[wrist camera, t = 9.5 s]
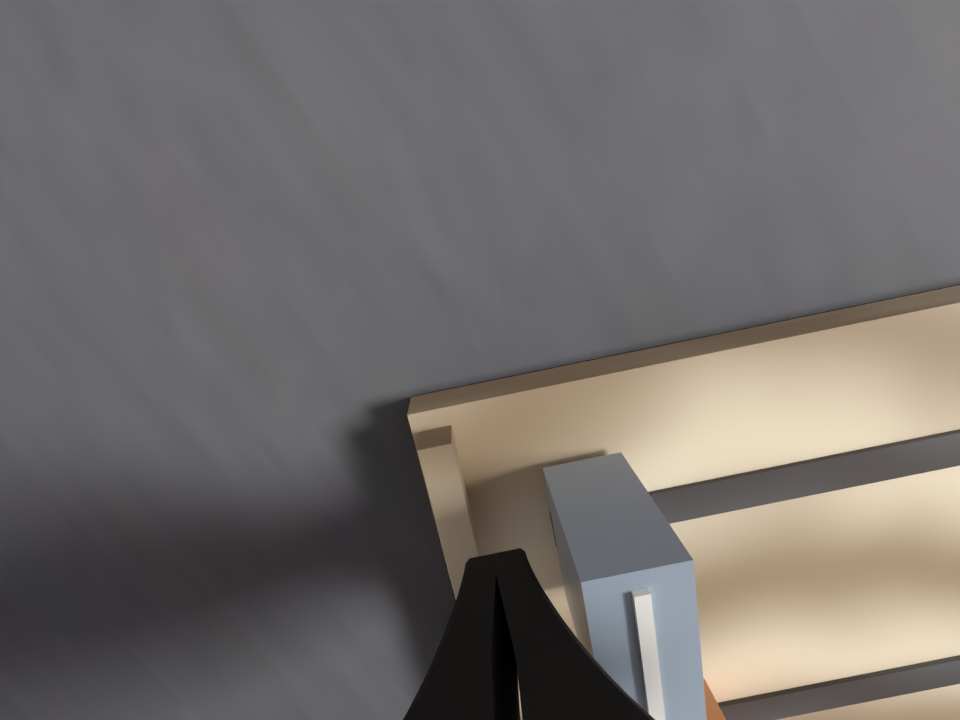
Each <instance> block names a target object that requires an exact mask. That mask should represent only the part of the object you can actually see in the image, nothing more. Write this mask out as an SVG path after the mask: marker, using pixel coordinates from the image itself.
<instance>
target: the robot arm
mask: <svg viewBox="0 0 960 720" xmlns="http://www.w3.org/2000/svg"><path fill="white" fill-rule="evenodd" d="M518 683H519V689H518ZM519 692H520V701H521V710H522V719H523V720H655V719H654V718H653V717H652V716H651V715H650V714H648V713H647V712H646V711H645V710H644V709H643V708H642V707H641V706H640V705H639V704H638V703H637V702H635V701H634V700H633V699H632V698H631V697H630V696H629V695H628V694H627V693H626V692H625V691H624V690H623V689H622V688H621V687H620V686H619V685H618V684H617V683H616V682H615V681H614V680H613V679H612V678H611V677H610V676H609V675H608V673H607V672H606V671H605V670H604V669H603V668H602V667H601V666H600V665H599V663H598V662H597V661H596V660H595V659H594V658H593V657H592V655H591V654H590V653H589V652H588V651H587V650H586V648H585V647H584V646H583V645H582V643H581V642H580V641H579V640H578V638H577V637H576V636H575V635H574V633H573V632H572V631H571V629H570V628H569V627H568V625H567V624H566V623H565V621H564V620H563V619H562V617H561V616H560V614H559V613H558V611H557V610H556V608H555V607H554V605H553V604H552V602H551V601H550V599H549V598H548V596H547V595H546V593H545V592H544V590H543V588H542V587H541V585H540V583H539V581H538V579H537V578H536V576H535V574H534V572H533V570H532V568H531V566H530V563H529V561H528V558H527V555H526V552H525V551H524V550H522V549H521V548H518V549H513V550H508V551H503V552H498V553H493V554H488V555H484V556H479V557H474V558H469V559H468V561H467V562H466V563H465V569H464V574H463V578H462V582H461V585H460V589H459V592H458V596H457V599H456V602H455V605H454V608H453V611H452V614H451V616H450V619H449V622H448V625H447V628H446V630H445V633H444V636H443V638H442V640H441V643H440V645H439V647H438V650H437V652H436V654H435V657H434V659H433V661H432V664H431V666H430V668H429V670H428V673H427V675H426V677H425V679H424V681H423V683H422V685H421V687H420V689H419V691H418V693H417V695H416V697H415V699H414V701H413V702H412V704H411V706H410V708H409V710H408V712H407V714H406V715H405V717H404V719H403V720H520V705H519Z"/></svg>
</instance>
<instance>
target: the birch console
mask: <svg viewBox="0 0 960 720" xmlns="http://www.w3.org/2000/svg"><path fill="white" fill-rule="evenodd" d="M407 416H408V420H409V424H410V428H411V431H412V435H413V439H414V443H415V447H416V450H417V454H418V458H419V462H420V466H421V469H422V473H423V477H424V481H425V485H426V488H427V492H428V496H429V500H430V504H431V507H432V511H433V515H434V519H435V523H436V526H437V530H438V534H439V538H440V542H441V545H442V549H443V553H444V557H445V561H446V564H447V568H448V572H449V576H450V580H451V583H452V587H453V591H454V595H455V599H457V596H458V592H459V589H460V585H461V582H462V578H463V574H464V569H465V563H466V562H467V561H468V559H469V558H474V557H479V556H484V555H488V554H493V553H498V552H503V551H508V550H513V549H518V548H521V549H522V550H524V551H525V552H526V555H527V558H528V561H529V563H530V566H531V568H532V570H533V572H534V574H535V576H536V578H537V579H538V581H539V583H540V585H541V587H542V588H543V590H544V592H545V593H546V595H547V596H548V598H549V599H550V601H551V602H552V604H553V605H554V607H555V608H556V610H557V611H558V613H559V614H560V616H561V617H562V619H563V620H564V621H565V623H566V624H567V625H568V627H569V628H570V629H571V631H572V632H573V633H574V635H575V636H576V637H577V634H576V630H575V627H574V623H573V620H572V616H571V613H570V609H569V606H568V602H567V599H566V595H565V590H564V584H563V579H562V573H561V568H560V562H559V556H558V551H557V545H556V540H555V534H554V529H553V523H552V518H551V512H550V507H549V501H548V496H547V490H546V484H545V479H544V473H543V468H545V467H550V466H555V465H560V464H565V463H570V462H575V461H580V460H585V459H590V458H595V457H600V456H605V455H610V454H614V453H619V452H621V453H622V454H623V456H624V457H625V459H626V460H627V462H628V463H629V465H630V466H631V468H632V469H633V471H634V472H635V474H636V475H637V477H638V478H639V480H640V481H641V482H642V484H643V485H644V487H645V488H646V490H647V491H648V493H649V494H650V496H651V497H652V499H653V500H654V502H655V503H656V505H657V506H658V508H659V509H660V511H661V512H662V514H663V515H664V517H665V518H666V520H667V521H668V523H669V524H670V526H671V527H672V529H673V530H674V532H675V533H676V535H677V536H678V538H679V539H680V541H681V542H682V544H683V545H684V547H685V548H686V550H687V551H688V553H689V554H690V555H691V557H692V558H693V560H694V572H695V584H696V596H697V608H698V620H699V632H700V645H701V657H702V669H703V678H704V679H705V681H706V682H707V684H708V686H709V688H710V690H711V692H712V694H713V696H714V698H715V699H716V701H717V703H718V705H719V707H720V709H721V711H722V713H723V715H724V717H725V718H726V720H960V285H958V286H953V287H948V288H943V289H938V290H933V291H928V292H923V293H919V294H914V295H909V296H904V297H899V298H894V299H889V300H884V301H879V302H874V303H870V304H865V305H860V306H855V307H850V308H845V309H840V310H835V311H830V312H825V313H820V314H816V315H811V316H806V317H801V318H796V319H791V320H786V321H781V322H776V323H771V324H767V325H762V326H757V327H752V328H747V329H742V330H737V331H732V332H727V333H722V334H718V335H713V336H708V337H703V338H698V339H693V340H688V341H683V342H678V343H673V344H669V345H664V346H659V347H654V348H649V349H644V350H639V351H634V352H629V353H624V354H620V355H615V356H610V357H605V358H600V359H595V360H590V361H585V362H580V363H575V364H571V365H566V366H561V367H556V368H551V369H546V370H541V371H536V372H531V373H526V374H522V375H517V376H512V377H507V378H502V379H497V380H492V381H487V382H482V383H477V384H472V385H468V386H463V387H458V388H453V389H448V390H443V391H438V392H433V393H428V394H423V395H419V396H414V397H411V400H410V404H409V409H408V414H407ZM577 638H578V637H577ZM518 689H519V683H518ZM519 705H520V720H523V719H522V710H521V701H520V692H519Z"/></svg>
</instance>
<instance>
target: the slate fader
mask: <svg viewBox="0 0 960 720" xmlns="http://www.w3.org/2000/svg"><path fill="white" fill-rule="evenodd" d="M543 473H544V479H545V484H546V490H547V496H548V501H549V507H550V512H551V518H552V523H553V529H554V534H555V540H556V545H557V551H558V556H559V562H560V568H561V573H562V579H563V584H564V590H565V595H566V599H567V602H568V606H569V609H570V613H571V616H572V620H573V623H574V627H575V630H576V634H577V637H578V640H579V641H580V642H581V643H582V645H583V646H584V647H585V648H586V650H587V651H588V652H589V653H590V654H591V655H592V657H593V658H594V659H595V660H596V661H597V662H598V663H599V665H600V666H601V667H602V668H603V669H604V670H605V671H606V672H607V673H608V675H609V676H610V677H611V678H612V679H613V680H614V681H615V682H616V683H617V684H618V685H619V686H620V687H621V688H622V689H623V690H624V691H625V692H626V693H627V694H628V695H629V696H630V697H631V698H632V699H633V700H634V701H635V702H637V703H638V704H639V705H640V706H641V707H642V708H643V709H644V710H645V711H646V712H647V713H648V714H650V715H651V716H652V717H653V718H654V719H655V720H707V717H706V705H705V693H704V681H703V669H702V657H701V645H700V632H699V620H698V608H697V596H696V584H695V572H694V560H693V558H692V557H691V555H690V554H689V553H688V551H687V550H686V548H685V547H684V545H683V544H682V542H681V541H680V539H679V538H678V536H677V535H676V533H675V532H674V530H673V529H672V527H671V526H670V524H669V523H668V521H667V520H666V518H665V517H664V515H663V514H662V512H661V511H660V509H659V508H658V506H657V505H656V503H655V502H654V500H653V499H652V497H651V496H650V494H649V493H648V491H647V490H646V488H645V487H644V485H643V484H642V482H641V481H640V480H639V478H638V477H637V475H636V474H635V472H634V471H633V469H632V468H631V466H630V465H629V463H628V462H627V460H626V459H625V457H624V456H623V454H622V453H621V452H619V453H614V454H610V455H605V456H600V457H595V458H590V459H585V460H580V461H575V462H570V463H565V464H560V465H555V466H550V467H545V468H543Z"/></svg>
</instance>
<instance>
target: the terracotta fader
mask: <svg viewBox="0 0 960 720" xmlns="http://www.w3.org/2000/svg"><path fill="white" fill-rule="evenodd" d="M703 681H704V693H705V705H706V717H707V720H726V718H725V717H724V715H723V713H722V711H721V709H720V707H719V705H718V703H717V701H716V699H715V698H714V696H713V694H712V692H711V690H710V688H709V686H708V684H707V682H706V681H705V679H704V678H703Z"/></svg>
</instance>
